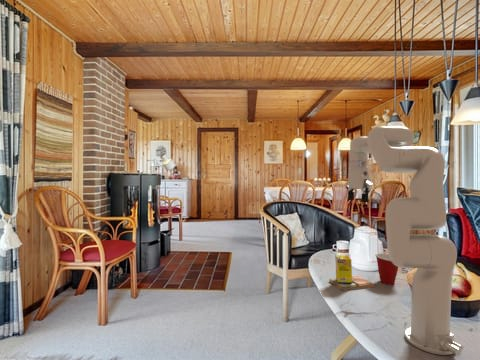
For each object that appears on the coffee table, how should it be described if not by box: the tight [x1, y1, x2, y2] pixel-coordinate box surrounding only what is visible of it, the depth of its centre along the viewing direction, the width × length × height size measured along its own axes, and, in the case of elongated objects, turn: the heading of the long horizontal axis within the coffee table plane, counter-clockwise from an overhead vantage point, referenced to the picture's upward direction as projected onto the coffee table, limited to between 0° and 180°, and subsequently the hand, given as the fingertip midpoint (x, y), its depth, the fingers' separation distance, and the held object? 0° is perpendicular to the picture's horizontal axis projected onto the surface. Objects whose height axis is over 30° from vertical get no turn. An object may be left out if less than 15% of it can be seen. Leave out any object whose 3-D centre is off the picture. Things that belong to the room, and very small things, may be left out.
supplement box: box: [334, 254, 353, 284], centre depth 125 cm, size 6×6×11 cm
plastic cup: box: [375, 253, 399, 285], centre depth 129 cm, size 11×11×12 cm
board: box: [328, 275, 375, 292], centre depth 126 cm, size 10×16×2 cm, turn 106°
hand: (357, 201), depth 134 cm, fingers open, 9 cm apart
